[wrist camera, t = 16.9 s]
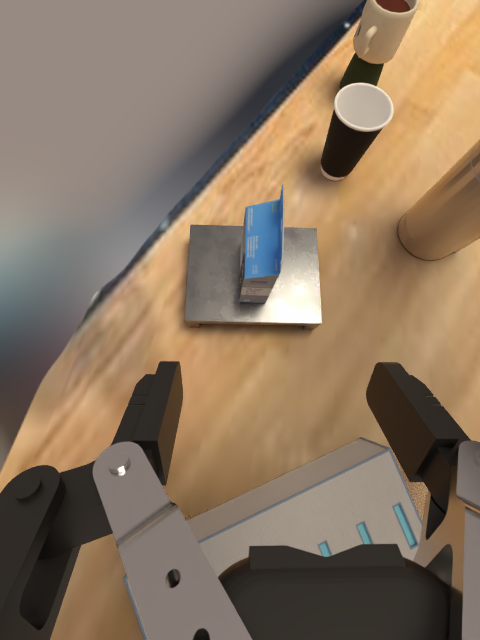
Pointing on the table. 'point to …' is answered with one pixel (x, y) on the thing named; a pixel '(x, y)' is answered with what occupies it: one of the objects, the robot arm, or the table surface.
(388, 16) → the character mug
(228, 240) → the brushed metal plate
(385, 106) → the dixie cup
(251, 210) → the label tape box
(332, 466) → the warehouse
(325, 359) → the table surface
